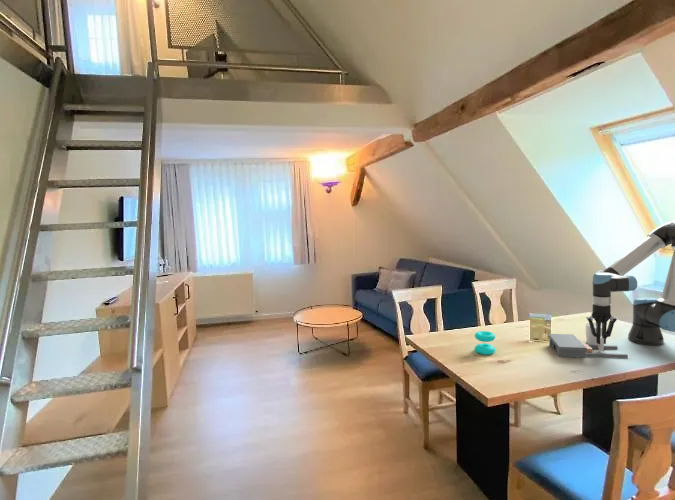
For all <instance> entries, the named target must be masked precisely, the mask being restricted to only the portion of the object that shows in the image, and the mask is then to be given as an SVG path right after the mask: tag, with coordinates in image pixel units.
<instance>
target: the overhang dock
mask: <svg viewBox="0 0 675 500" xmlns="http://www.w3.org/2000/svg"><path fill="white" fill-rule="evenodd" d="M548 338H549V341H548V343H549V347H551V348H552V349H553V350H554V352H555V353H556V356H557V357H561V358H562V357H564V358H586V357H588V358H589V357H592V358H593V357H594V358H618V359H620V358H623V359H628V358H629V355H628V354H627V353H617V352H616V353H614V352H613V353H611V352H610V353H609V352H592V353H588V352H585V351H587V347H586V346H585V345H584V344H582V343H583V342H582V341H580V339H578V338H577V336H575V334H574V333H573V334H571V333H548ZM588 345H589V346H590V347H591V348H592V350H593V349H594V350H596V349H598V345H590V344H588ZM598 350H599V349H598ZM604 350H618V346H617V345H608V344H604Z"/></svg>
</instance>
